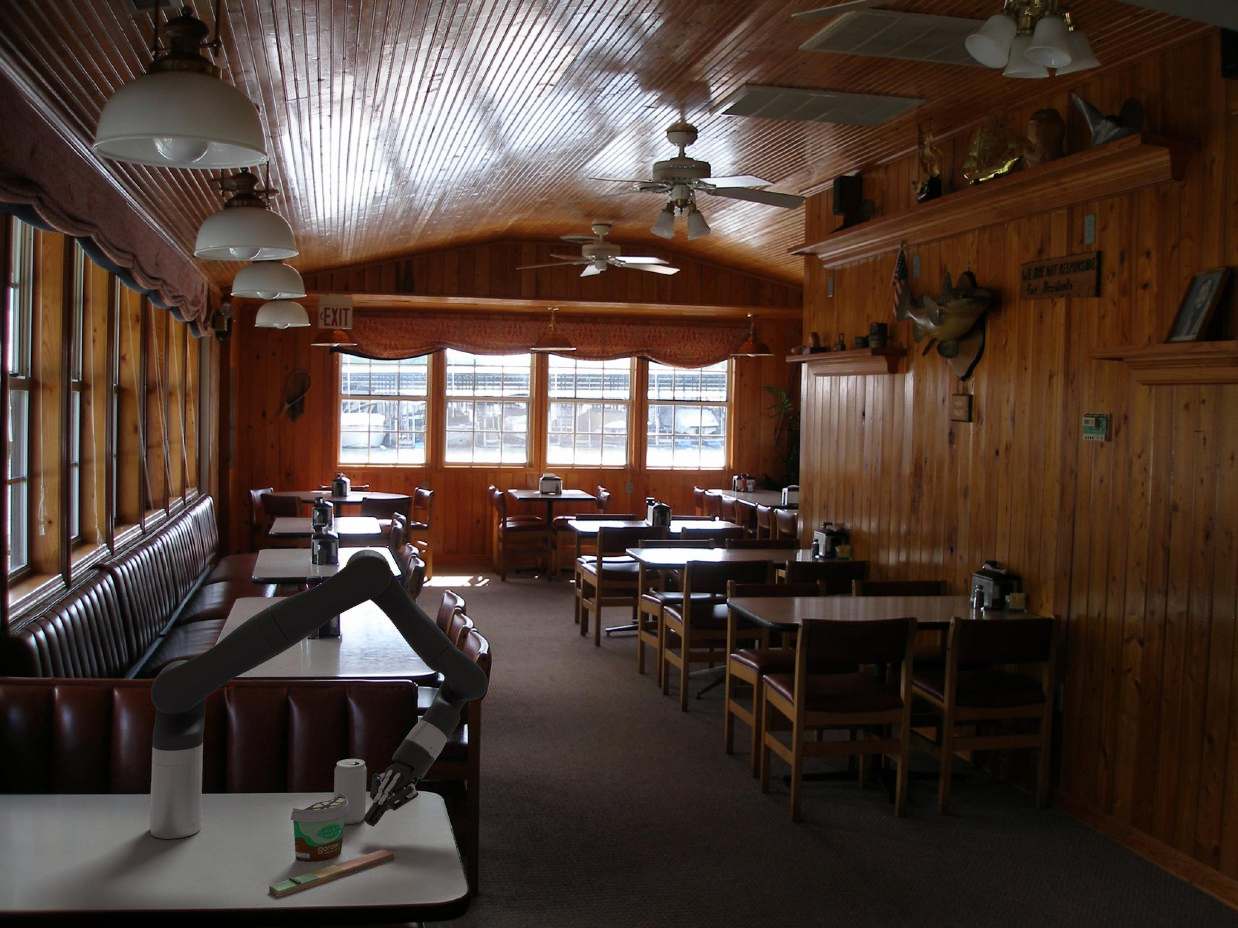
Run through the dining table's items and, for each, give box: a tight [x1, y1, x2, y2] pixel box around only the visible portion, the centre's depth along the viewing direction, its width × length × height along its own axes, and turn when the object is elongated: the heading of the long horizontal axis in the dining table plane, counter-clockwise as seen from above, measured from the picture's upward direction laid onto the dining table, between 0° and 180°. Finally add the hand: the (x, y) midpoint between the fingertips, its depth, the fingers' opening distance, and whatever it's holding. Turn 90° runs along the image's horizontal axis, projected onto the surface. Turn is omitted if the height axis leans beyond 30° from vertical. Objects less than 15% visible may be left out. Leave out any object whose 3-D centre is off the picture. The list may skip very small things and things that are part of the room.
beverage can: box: [333, 758, 368, 825], centre depth 220 cm, size 6×6×12 cm
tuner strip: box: [268, 848, 395, 898], centre depth 192 cm, size 3×24×2 cm, turn 139°
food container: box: [290, 793, 350, 863], centre depth 201 cm, size 12×6×10 cm, turn 148°
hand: (368, 823), depth 208 cm, fingers closed
